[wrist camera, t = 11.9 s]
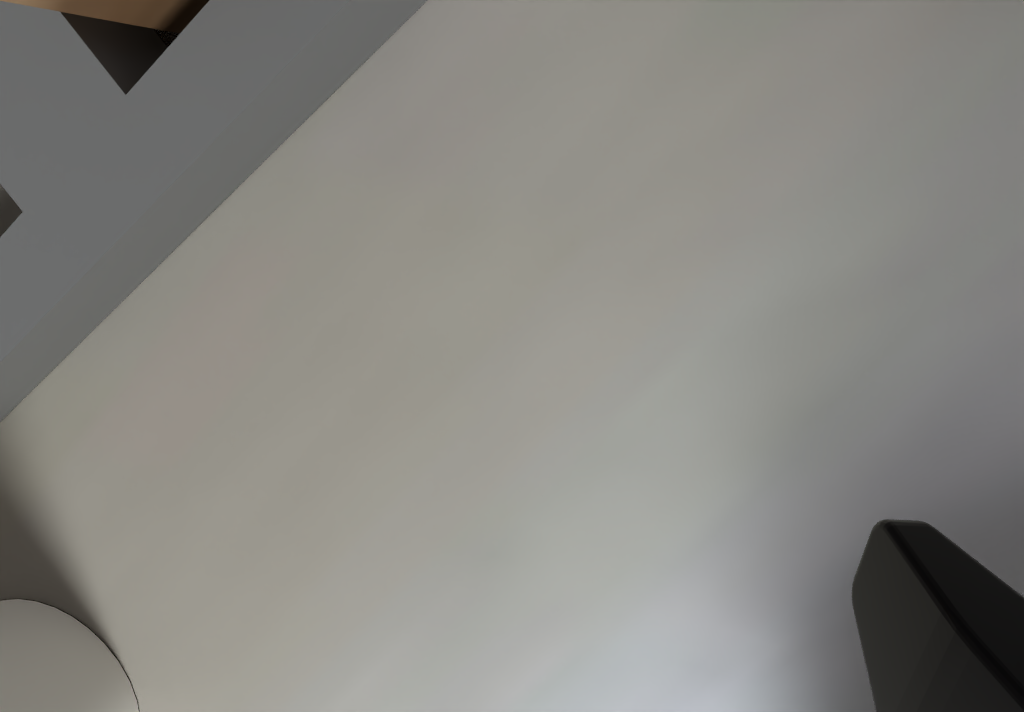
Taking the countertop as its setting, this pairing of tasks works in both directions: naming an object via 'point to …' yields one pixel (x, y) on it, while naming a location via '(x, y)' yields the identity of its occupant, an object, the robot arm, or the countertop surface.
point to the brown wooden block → (128, 11)
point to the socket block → (144, 145)
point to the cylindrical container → (56, 664)
